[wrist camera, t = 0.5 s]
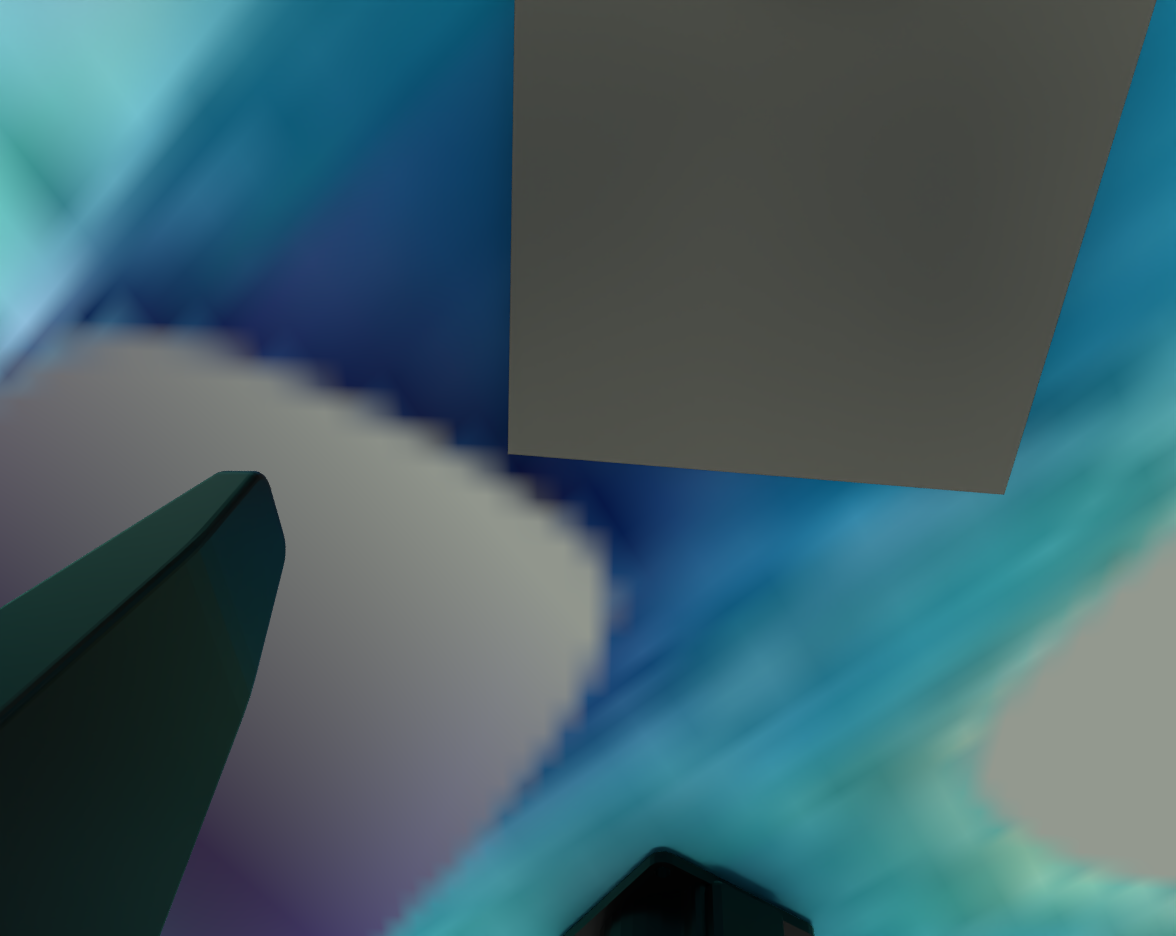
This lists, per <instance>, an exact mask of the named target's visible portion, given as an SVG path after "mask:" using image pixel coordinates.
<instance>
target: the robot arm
mask: <svg viewBox="0 0 1176 936" xmlns="http://www.w3.org/2000/svg"><path fill="white" fill-rule="evenodd" d="M284 561H285V539H284V534H283V531H282V527H281V523H280V520H279V516H278V513H277V509H276V506H275V502H274V499H273V495H272V492H271V488H270V485H269V483H268V481H267V479H266V477H265V476H264V475H263V474H261V473H260V472H257V471H222V472H218V473H216V474H214V475H213V476H212V477H210V478H208V479H206V480H205V481H203V482H202V483H200V484H198V485H197V486H195V487H194V488H192V489H190V490H189V491H187V492H186V493H184V494H182V495H181V496H179V497H178V498H176V499H174V500H173V501H171V502H169V503H168V504H167V505H165V506H163V507H161V508H160V509H158V510H157V511H155V512H153V513H152V514H150V515H149V516H147V517H145V518H144V519H142V520H141V521H139V522H137V523H136V524H134V525H133V526H131V527H129V528H128V529H126V530H125V531H123V532H121V533H120V534H118V535H117V536H115V537H113V538H112V539H110V540H109V541H107V542H105V543H104V544H102V545H101V546H99V547H97V548H96V549H94V550H93V551H91V552H89V553H88V554H86V555H84V556H83V557H81V558H80V559H78V560H76V561H75V562H73V563H72V564H70V565H68V566H67V567H66V568H64V569H62V570H60V571H59V572H57V573H56V574H54V575H53V576H51V577H49V578H48V579H46V580H44V581H43V582H41V583H40V584H38V585H36V586H35V587H33V588H32V589H30V590H28V591H27V592H25V593H23V594H22V595H20V596H19V597H17V598H16V599H14V600H12V601H11V602H9V603H7V604H6V605H4V606H3V607H1V608H0V936H160V934H161V931H162V928H163V926H164V923H165V921H166V918H167V915H168V913H169V910H170V908H171V905H172V902H173V899H174V897H175V894H176V892H177V889H178V887H179V884H180V881H181V878H182V876H183V873H184V871H185V867H186V866H187V863H188V860H189V858H190V855H191V852H192V850H193V847H194V845H195V842H196V839H197V836H198V834H199V831H200V829H201V826H202V823H203V821H204V817H205V816H206V813H207V810H208V808H209V805H210V802H211V800H212V797H213V795H214V792H215V789H216V787H217V784H218V781H219V779H220V776H221V774H222V771H223V768H224V766H225V763H226V760H227V758H228V755H229V753H230V750H231V747H232V745H233V742H234V739H235V737H236V734H237V732H238V729H239V726H240V724H241V721H242V718H243V715H244V713H245V710H246V707H247V704H248V701H249V698H250V696H251V692H252V688H253V685H254V681H255V678H256V674H257V670H258V666H259V662H260V658H261V654H262V650H263V646H264V642H265V638H266V634H267V630H268V626H269V622H270V618H271V613H272V610H273V606H274V602H275V598H276V594H277V590H278V586H279V582H280V578H281V574H282V569H283V566H284ZM564 936H815V934H814V929H813V927H812V926H811V925H810V924H809V923H807V922H805V921H803V920H801V919H799V918H797V917H795V916H793V915H791V914H789V913H787V912H786V911H784V910H782V909H780V908H778V907H776V906H774V905H772V904H770V903H768V902H766V901H764V900H762V899H760V898H758V897H756V896H754V895H752V894H750V893H748V892H746V891H744V890H742V889H740V888H738V887H736V886H734V885H733V884H731V883H729V882H727V881H725V880H723V879H721V878H719V877H717V876H715V875H713V874H711V873H709V872H707V871H705V870H703V869H701V868H699V867H697V866H695V865H693V864H691V863H689V862H687V861H685V860H683V859H681V858H680V857H678V856H676V855H674V854H671V853H668V852H656V853H653V854H652V855H650V856H649V857H648V858H647V859H646V860H645V861H644V862H643V863H641V864H640V865H639V866H638V867H637V868H636V869H635V870H634V871H633V872H632V873H631V874H630V875H629V876H627V877H626V878H625V879H624V880H623V881H622V882H621V883H620V884H619V885H618V886H617V887H616V888H614V889H613V890H612V891H611V892H610V893H609V894H608V895H607V896H606V897H605V898H604V899H603V900H602V901H600V902H599V903H598V904H597V905H596V906H595V907H594V908H593V909H592V910H591V911H590V912H589V913H587V914H586V915H585V916H584V917H583V918H582V919H581V920H580V921H579V922H578V923H577V924H576V925H575V926H573V927H572V928H571V929H570V930H569V931H568V932H567V933H566V934H565V935H564Z"/></svg>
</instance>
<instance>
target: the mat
mask: <svg viewBox="0 0 1176 936" xmlns="http://www.w3.org/2000/svg"><path fill="white" fill-rule="evenodd" d="M1155 3H1156V0H515V18H514V85H513V152H512V219H511V287H510V354H509V421H508V454H516V455H528V456H541V457H553V458H565V459H577V460H589V461H602V462H614V463H626V464H638V465H650V466H662V467H675V468H687V469H699V470H711V471H723V472H735V473H748V474H760V475H772V476H784V477H796V478H808V479H821V480H833V481H845V482H857V483H869V484H881V485H894V486H906V487H918V488H930V489H942V490H954V491H967V492H979V493H991V494H1003V495H1004V493H1005V490H1006V487H1007V483H1008V480H1009V477H1010V474H1011V470H1012V467H1013V464H1014V461H1015V457H1016V454H1017V451H1018V448H1019V444H1020V441H1021V438H1022V435H1023V431H1024V428H1025V425H1026V422H1027V418H1028V415H1029V412H1030V409H1031V405H1032V402H1033V399H1034V396H1035V392H1036V389H1037V386H1038V383H1039V379H1040V376H1041V373H1042V370H1043V366H1044V363H1045V360H1046V357H1047V353H1048V350H1049V347H1050V344H1051V341H1052V337H1053V334H1054V331H1055V328H1056V324H1057V321H1058V318H1059V315H1060V311H1061V308H1062V305H1063V302H1064V298H1065V295H1066V292H1067V289H1068V285H1069V282H1070V279H1071V276H1072V272H1073V269H1074V266H1075V263H1076V259H1077V256H1078V253H1079V250H1080V246H1081V243H1082V240H1083V237H1084V233H1085V230H1086V227H1087V224H1088V220H1089V217H1090V214H1091V211H1092V207H1093V204H1094V201H1095V198H1096V195H1097V191H1098V188H1099V185H1100V182H1101V178H1102V175H1103V172H1104V169H1105V165H1106V162H1107V159H1108V156H1109V152H1110V149H1111V146H1112V143H1113V139H1114V136H1115V133H1116V130H1117V126H1118V123H1119V120H1120V117H1121V113H1122V110H1123V107H1124V104H1125V100H1126V97H1127V94H1128V91H1129V87H1130V84H1131V81H1132V78H1133V74H1134V71H1135V68H1136V65H1137V61H1138V58H1139V55H1140V52H1141V49H1142V45H1143V42H1144V39H1145V36H1146V32H1147V29H1148V26H1149V23H1150V19H1151V16H1152V13H1153V10H1154V6H1155Z"/></svg>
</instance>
